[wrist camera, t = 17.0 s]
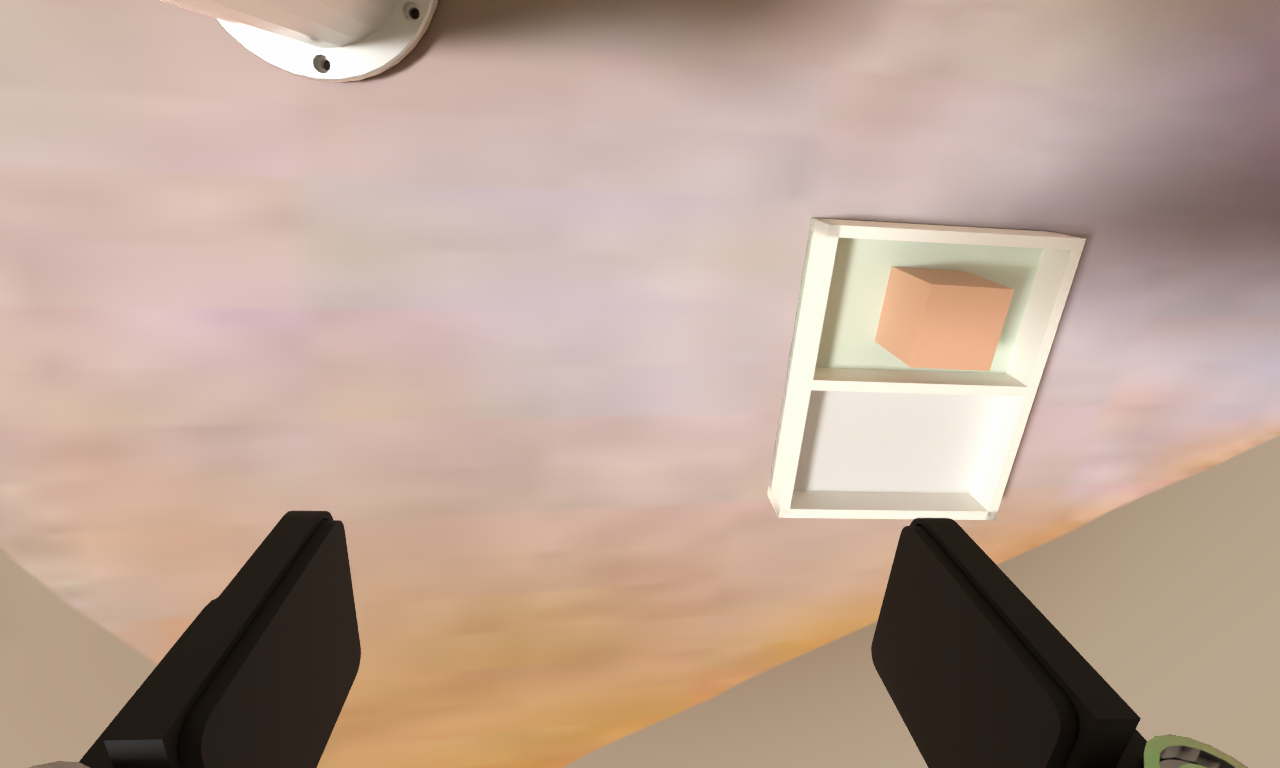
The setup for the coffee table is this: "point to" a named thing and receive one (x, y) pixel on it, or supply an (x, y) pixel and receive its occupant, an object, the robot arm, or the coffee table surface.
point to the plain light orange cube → (942, 318)
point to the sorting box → (909, 376)
